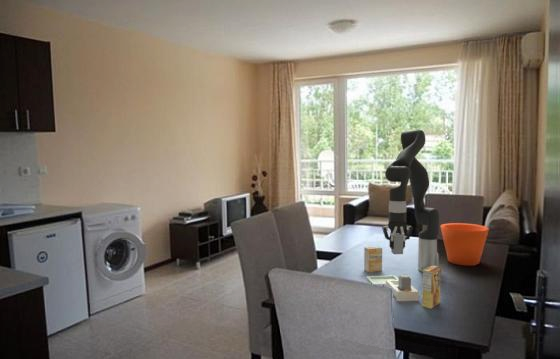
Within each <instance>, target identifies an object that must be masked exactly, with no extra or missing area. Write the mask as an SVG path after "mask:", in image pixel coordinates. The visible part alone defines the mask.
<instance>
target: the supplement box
mask: <svg viewBox="0 0 560 359" xmlns="http://www.w3.org/2000/svg"><path fill="white" fill-rule="evenodd" d="M363 250H364V254H363V255H364V256H363V257H364V259H363V262H364V263H363V269H364V271H365V272H367V273H373V272H382V271H383V248H382V247H380V246H368V247H367V246H364V249H363Z"/></svg>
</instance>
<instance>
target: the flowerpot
mask: <svg viewBox="0 0 560 359" xmlns="http://www.w3.org/2000/svg"><path fill="white" fill-rule="evenodd" d="M439 228H440V230H441V236H442V240H443V244H444V247H445V252H446V256H447V260H448V261H447V262H449V263H451V264H454V265H459V266H477V264H478V265H479V264H480V262H481V259H482V255H483V252H484V247H485V244H486V240H487V237H488V234H489V230H490V228H489V227H487V226H485V225H480V224H475V223H463V222H462V223H461V222H455V223H454V222H450V223H449V222H448V223H444V224H443V223H442V224H439Z"/></svg>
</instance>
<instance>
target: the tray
mask: <svg viewBox="0 0 560 359" xmlns="http://www.w3.org/2000/svg"><path fill="white" fill-rule="evenodd" d="M366 279H367V281H368V282H369V283H370V284H371V283H372V284H378V285H384V286H383V287H386V280H398V277H397V276H396V275H395V274H394V275H367V276H366ZM372 284H371V285H372Z"/></svg>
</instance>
